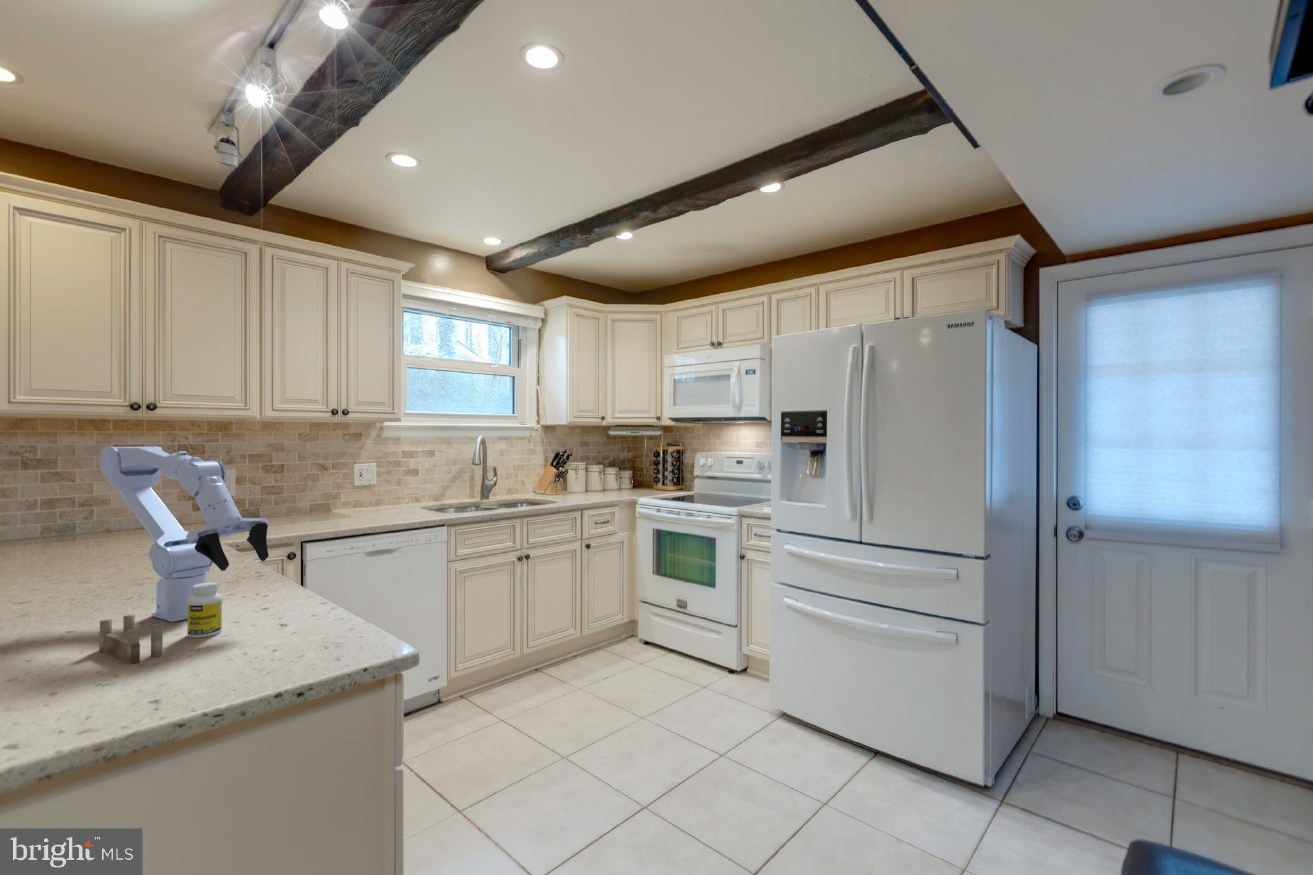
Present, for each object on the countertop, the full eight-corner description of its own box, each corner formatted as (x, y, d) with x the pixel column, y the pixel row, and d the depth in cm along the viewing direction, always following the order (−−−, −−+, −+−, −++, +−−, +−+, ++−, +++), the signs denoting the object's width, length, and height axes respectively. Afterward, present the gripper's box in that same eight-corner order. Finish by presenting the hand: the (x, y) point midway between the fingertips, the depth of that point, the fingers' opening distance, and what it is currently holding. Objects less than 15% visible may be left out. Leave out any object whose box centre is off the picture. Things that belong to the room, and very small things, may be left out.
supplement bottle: (184, 640, 114) (184, 589, 114) (191, 631, 118) (191, 583, 118) (218, 636, 116) (219, 586, 116) (224, 627, 121) (224, 580, 121)
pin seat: (97, 650, 108) (97, 620, 108) (131, 642, 112) (131, 613, 112) (130, 664, 102) (130, 632, 102) (165, 655, 106) (165, 624, 106)
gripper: (186, 504, 116) (214, 561, 113) (263, 493, 129) (289, 544, 126) (173, 524, 119) (200, 580, 116) (249, 511, 132) (275, 562, 129)
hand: (245, 563), depth 121 cm, fingers open, 7 cm apart
